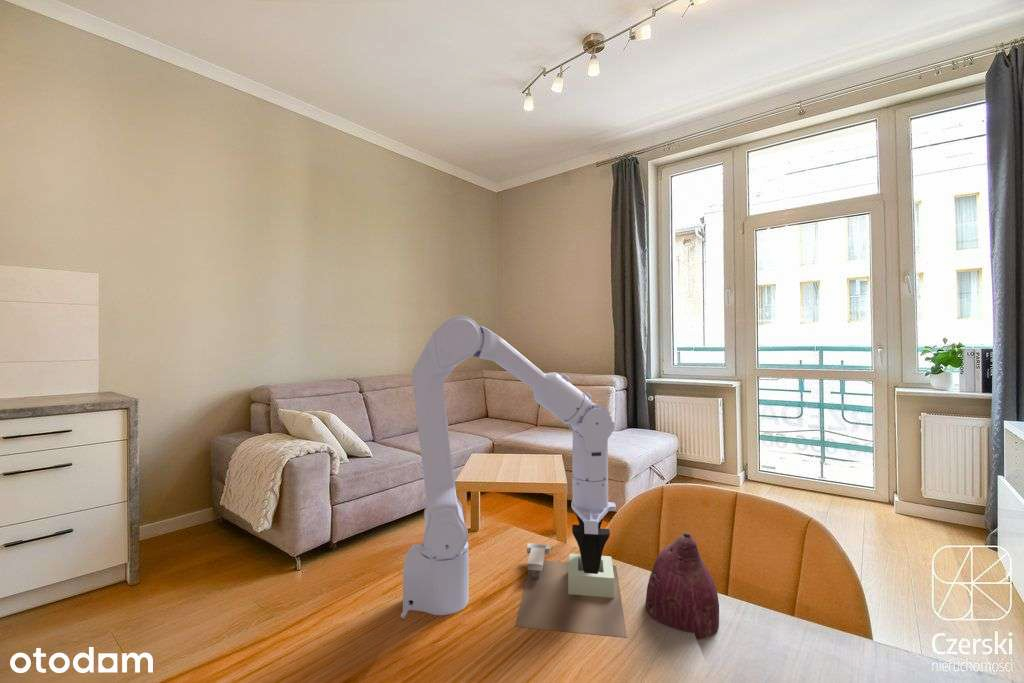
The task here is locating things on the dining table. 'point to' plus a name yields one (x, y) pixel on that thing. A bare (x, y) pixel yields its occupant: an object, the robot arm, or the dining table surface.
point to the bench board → (565, 601)
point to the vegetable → (683, 590)
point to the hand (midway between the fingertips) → (590, 560)
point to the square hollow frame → (590, 578)
